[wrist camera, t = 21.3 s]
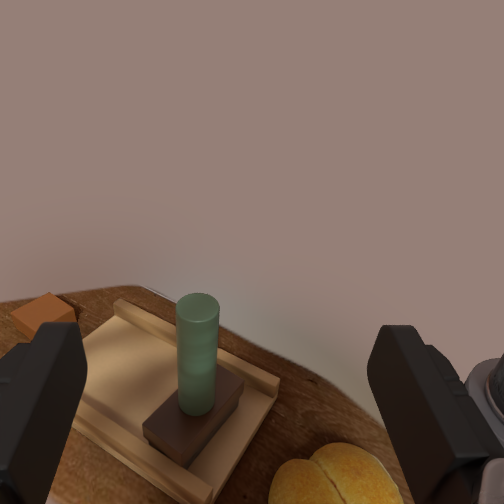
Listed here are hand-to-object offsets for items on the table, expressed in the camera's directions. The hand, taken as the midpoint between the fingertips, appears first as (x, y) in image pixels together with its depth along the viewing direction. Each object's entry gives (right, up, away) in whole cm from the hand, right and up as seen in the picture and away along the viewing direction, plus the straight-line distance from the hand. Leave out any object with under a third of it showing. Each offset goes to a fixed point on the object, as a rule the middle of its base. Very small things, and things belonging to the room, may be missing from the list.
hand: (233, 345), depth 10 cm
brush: (-4, -11, +19) cm, 22 cm away
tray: (-8, -10, +22) cm, 25 cm away
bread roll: (+6, -16, +16) cm, 23 cm away
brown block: (-20, -5, +28) cm, 34 cm away
